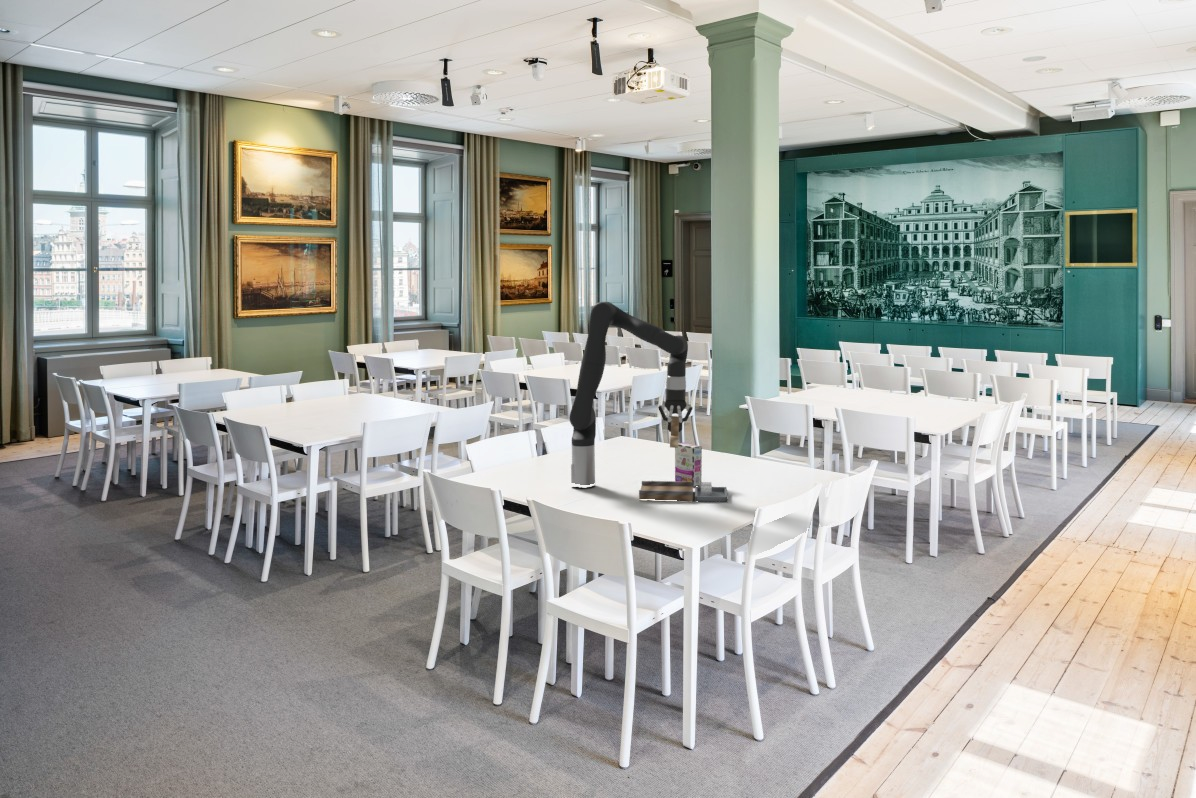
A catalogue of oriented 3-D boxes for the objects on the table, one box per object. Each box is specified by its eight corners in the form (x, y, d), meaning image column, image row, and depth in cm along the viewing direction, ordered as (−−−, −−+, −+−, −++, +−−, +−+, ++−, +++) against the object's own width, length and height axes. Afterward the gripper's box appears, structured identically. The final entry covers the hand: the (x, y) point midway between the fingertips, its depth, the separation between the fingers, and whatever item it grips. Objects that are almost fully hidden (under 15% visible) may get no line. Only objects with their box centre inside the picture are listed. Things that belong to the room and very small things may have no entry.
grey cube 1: (701, 484, 346) (711, 484, 345) (701, 482, 350) (711, 482, 349) (700, 494, 346) (711, 494, 346) (701, 492, 350) (711, 492, 350)
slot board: (639, 501, 340) (639, 490, 339) (641, 490, 356) (641, 480, 355) (692, 501, 338) (692, 491, 337) (692, 491, 353) (692, 481, 353)
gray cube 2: (700, 487, 341) (711, 487, 340) (700, 485, 345) (711, 485, 344) (700, 498, 341) (711, 498, 341) (700, 495, 345) (711, 495, 345)
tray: (695, 501, 338) (695, 496, 337) (695, 491, 353) (695, 486, 353) (727, 502, 336) (727, 497, 336) (726, 492, 352) (726, 487, 352)
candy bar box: (702, 486, 363) (702, 445, 360) (693, 487, 360) (693, 447, 357) (683, 481, 371) (683, 442, 369) (674, 482, 368) (674, 443, 366)
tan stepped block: (669, 447, 345) (670, 419, 344) (671, 441, 356) (672, 414, 354) (677, 447, 345) (678, 419, 343) (678, 442, 356) (679, 414, 354)
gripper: (657, 388, 344) (656, 432, 347) (694, 389, 343) (692, 434, 345) (658, 385, 352) (657, 429, 354) (694, 386, 350) (693, 430, 352)
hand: (674, 431), depth 350 cm, fingers closed on tan stepped block, 3 cm apart
